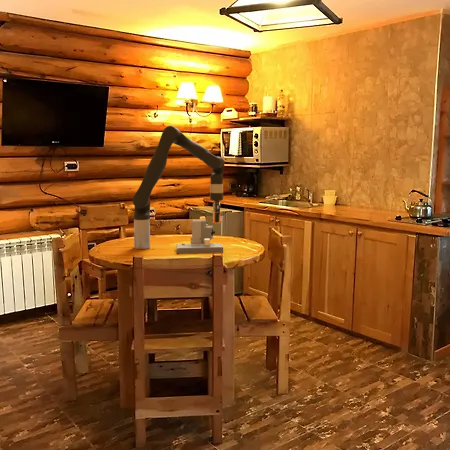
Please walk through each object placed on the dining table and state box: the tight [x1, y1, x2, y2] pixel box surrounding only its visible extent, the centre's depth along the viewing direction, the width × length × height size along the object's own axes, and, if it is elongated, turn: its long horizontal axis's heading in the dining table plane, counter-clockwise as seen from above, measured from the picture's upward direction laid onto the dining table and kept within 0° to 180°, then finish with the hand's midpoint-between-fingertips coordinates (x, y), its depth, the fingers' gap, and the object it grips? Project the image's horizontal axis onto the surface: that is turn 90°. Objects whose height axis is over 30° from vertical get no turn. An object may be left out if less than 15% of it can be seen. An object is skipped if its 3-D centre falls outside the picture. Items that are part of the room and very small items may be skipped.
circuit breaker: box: [189, 219, 216, 244], centre depth 314 cm, size 8×14×15 cm, turn 78°
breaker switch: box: [204, 238, 211, 246], centre depth 295 cm, size 3×4×4 cm
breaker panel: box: [176, 242, 224, 254], centre depth 294 cm, size 26×12×4 cm, turn 97°
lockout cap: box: [212, 211, 222, 224], centre depth 293 cm, size 4×4×6 cm
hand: (216, 221), depth 294 cm, fingers closed on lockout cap, 4 cm apart
